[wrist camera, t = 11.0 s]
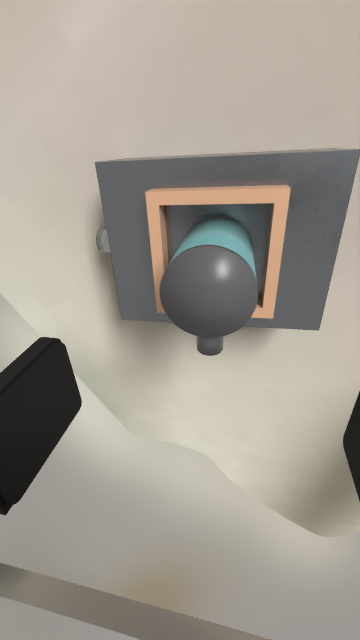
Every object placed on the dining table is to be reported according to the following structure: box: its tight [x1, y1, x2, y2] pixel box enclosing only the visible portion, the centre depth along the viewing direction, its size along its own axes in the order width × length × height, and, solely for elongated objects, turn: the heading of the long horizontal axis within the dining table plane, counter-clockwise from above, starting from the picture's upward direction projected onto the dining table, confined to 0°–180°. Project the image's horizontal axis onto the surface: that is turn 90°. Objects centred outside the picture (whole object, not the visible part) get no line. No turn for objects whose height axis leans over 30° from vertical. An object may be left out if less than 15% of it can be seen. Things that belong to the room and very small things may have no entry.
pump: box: [160, 217, 258, 356], centre depth 18 cm, size 5×7×7 cm
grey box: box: [95, 148, 360, 330], centre depth 23 cm, size 18×12×8 cm, turn 93°
